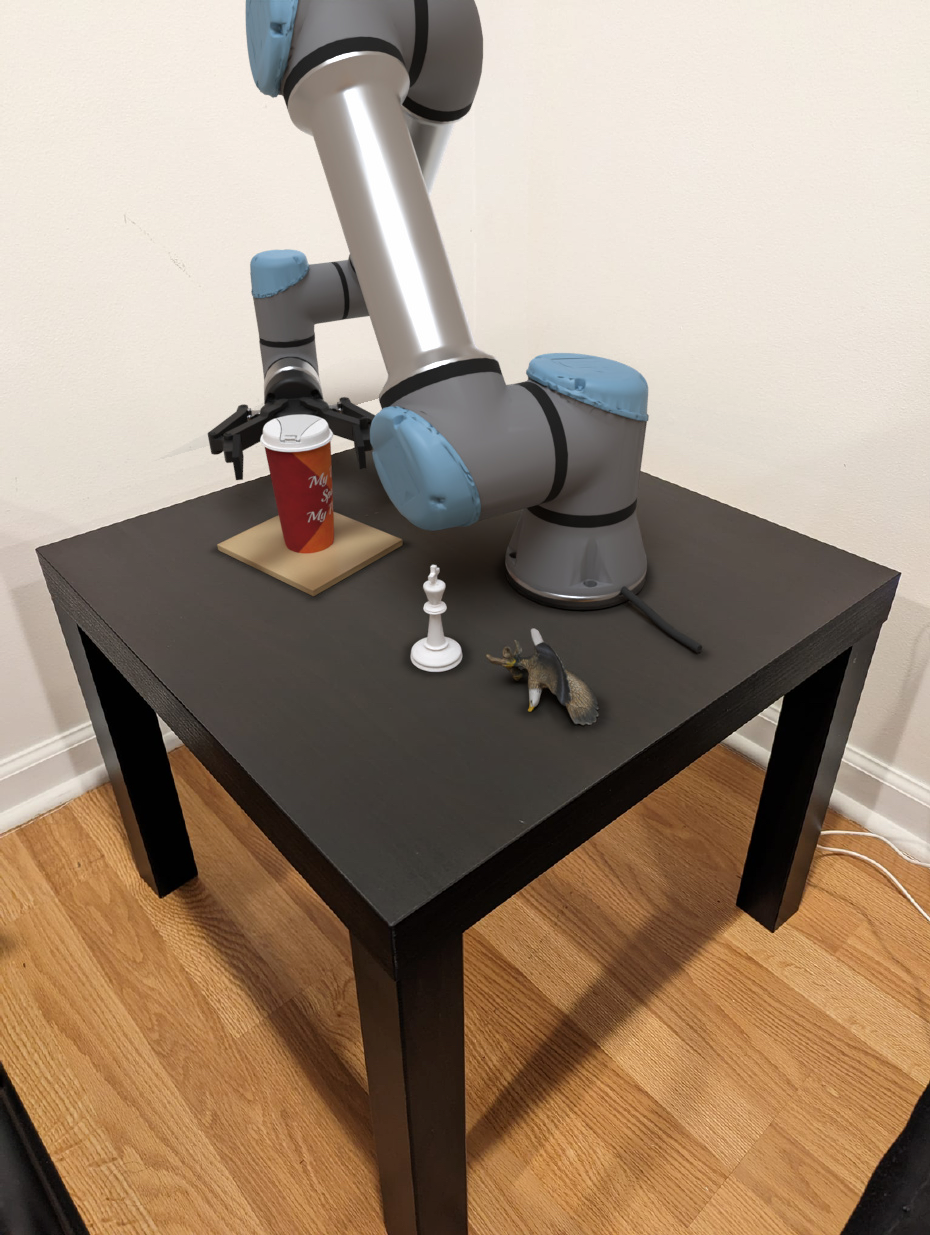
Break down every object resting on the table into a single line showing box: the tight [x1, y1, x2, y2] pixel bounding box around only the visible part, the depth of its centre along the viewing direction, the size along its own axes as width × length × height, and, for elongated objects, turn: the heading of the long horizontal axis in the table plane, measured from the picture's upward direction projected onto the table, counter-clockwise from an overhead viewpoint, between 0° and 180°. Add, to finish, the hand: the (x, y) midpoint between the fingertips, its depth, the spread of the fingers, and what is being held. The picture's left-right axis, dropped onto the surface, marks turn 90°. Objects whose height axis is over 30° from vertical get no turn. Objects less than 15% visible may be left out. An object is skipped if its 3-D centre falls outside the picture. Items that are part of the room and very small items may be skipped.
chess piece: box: [410, 564, 463, 673], centre depth 80 cm, size 5×5×10 cm
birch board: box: [216, 511, 404, 597], centre depth 100 cm, size 16×14×1 cm
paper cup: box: [259, 415, 334, 553], centre depth 96 cm, size 8×8×14 cm
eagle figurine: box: [485, 627, 600, 726], centre depth 75 cm, size 8×7×9 cm
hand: (300, 463), depth 96 cm, fingers open, 13 cm apart
